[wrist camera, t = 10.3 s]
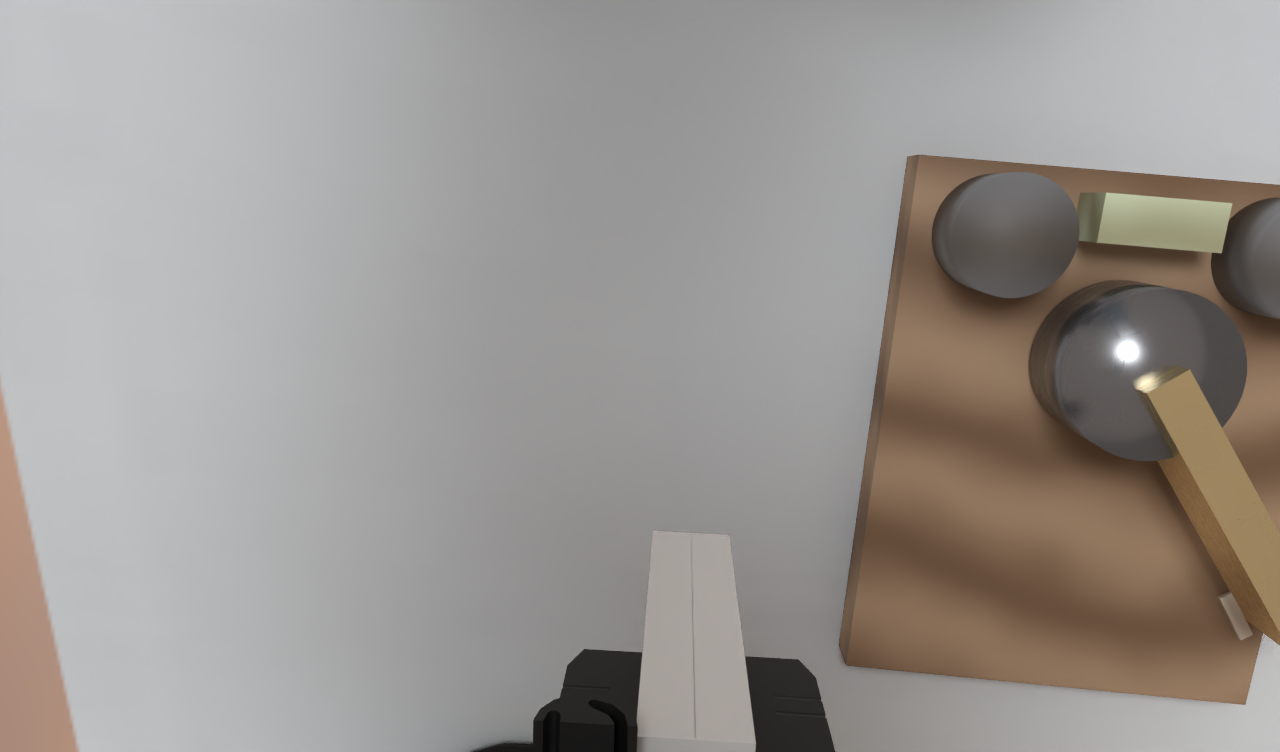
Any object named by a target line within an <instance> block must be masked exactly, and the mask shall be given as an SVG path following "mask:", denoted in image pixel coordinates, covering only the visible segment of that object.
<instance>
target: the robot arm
mask: <svg viewBox="0 0 1280 752" xmlns="http://www.w3.org/2000/svg"><path fill="white" fill-rule="evenodd" d="M533 752H835V749H834V745H833V742H832V738H831V734H830V730H829V726H828V723H827V719H826V718H825V711H824V707H823V704H822V702H821V696H820V692H819V688H818V684H817V681H816V678H815V676H814V675H813V674H812V673H811V672H810V671H809V670H808V669H807V668H806V667H805V666H804V665H803V664H802V663H801V662H800V661H799V660H797V659H780V658H763V657H746V656H745V654H744V646H743V638H742V630H741V622H740V614H739V607H738V599H737V591H736V583H735V575H734V567H733V559H732V552H731V544H730V536H729V535H725V534H707V533H688V532H670V531H653V534H652V546H651V558H650V569H649V581H648V593H647V605H646V616H645V628H644V640H643V651H642V653H640V652H623V651H606V650H589V649H584V650H583V651H582V652H581V653H580V654H579V655H578V656H577V657H576V658H575V659H574V660H573V661H571V662H570V663H569V664H568V666H567V670H566V674H565V679H564V683H563V688H562V691H561V696H560V698H559V699H555V700H553V701H552V702H550V703H549V704H547V705H546V706H544V707H543V708H541V709H540V711H539V712H538V714H537V715H536V717H535V719H534V723H533Z"/></svg>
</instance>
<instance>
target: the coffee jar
mask: <svg viewBox="0 0 1280 752" xmlns="http://www.w3.org/2000/svg"><path fill="white" fill-rule="evenodd" d="M473 752H533V744H500V745H496V746H492V747H488V748H485V749H481V750H477V751H473Z"/></svg>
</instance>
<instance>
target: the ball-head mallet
mask: <svg viewBox="0 0 1280 752" xmlns="http://www.w3.org/2000/svg"><path fill="white" fill-rule="evenodd" d="M1030 374H1031V380H1032V384H1033V388H1034V391H1035V393H1036V395H1037V397H1038V399H1039V401H1040V403H1041V404H1042V406H1043V407H1044V409H1045V410H1046V411H1047V412H1048V413H1049V414H1050V415H1051V416H1052V417H1053V418H1054V419H1055V420H1057V421H1058V422H1059V423H1061V424H1062V425H1064V426H1066V427H1067V428H1069V429H1071V430H1072V431H1074V432H1076V433H1077V434H1079V435H1080V436H1082V437H1084V438H1085V439H1087V440H1089V441H1090V442H1092V443H1094V444H1095V445H1097V446H1099V447H1100V448H1102V449H1104V450H1105V451H1107V452H1109V453H1111V454H1114V455H1116V456H1119V457H1122V458H1126V459H1130V460H1137V461H1158V463H1159V465H1160V467H1161V469H1162V470H1163V472H1164V474H1165V476H1166V477H1167V479H1168V481H1169V483H1170V485H1171V486H1172V488H1173V490H1174V492H1175V494H1176V495H1177V497H1178V499H1179V501H1180V502H1181V504H1182V506H1183V508H1184V510H1185V511H1186V513H1187V515H1188V517H1189V518H1190V520H1191V522H1192V524H1193V526H1194V527H1195V529H1196V531H1197V533H1198V534H1199V536H1200V538H1201V540H1202V542H1203V543H1204V545H1205V547H1206V549H1207V551H1208V552H1209V554H1210V556H1211V558H1212V559H1213V561H1214V563H1215V565H1216V567H1217V568H1218V570H1219V572H1220V574H1221V575H1222V577H1223V579H1224V581H1225V583H1226V584H1227V586H1228V588H1229V590H1230V592H1231V593H1232V595H1233V597H1234V599H1235V600H1236V602H1237V604H1238V606H1239V608H1240V609H1241V611H1242V613H1243V615H1244V616H1245V618H1246V620H1247V621H1248V622H1249V623H1251V624H1252V625H1253V626H1255V627H1256V628H1257V629H1259V630H1260V631H1261V632H1263V633H1264V634H1265V635H1267V636H1268V637H1269V638H1271V639H1272V640H1273V641H1275V642H1276V643H1277V644H1279V645H1280V534H1279V532H1278V530H1277V528H1276V527H1275V525H1274V523H1273V521H1272V519H1271V517H1270V516H1269V514H1268V512H1267V510H1266V508H1265V506H1264V505H1263V503H1262V501H1261V499H1260V497H1259V495H1258V493H1257V492H1256V490H1255V488H1254V486H1253V484H1252V482H1251V481H1250V479H1249V477H1248V475H1247V473H1246V471H1245V470H1244V468H1243V466H1242V464H1241V462H1240V460H1239V459H1238V457H1237V455H1236V453H1235V451H1234V449H1233V448H1232V446H1231V444H1230V442H1229V440H1228V438H1227V437H1226V435H1225V433H1224V431H1223V429H1222V428H1223V427H1224V425H1225V424H1226V423H1227V421H1228V420H1229V419H1230V418H1231V416H1232V415H1233V413H1234V411H1235V410H1236V408H1237V406H1238V404H1239V402H1240V399H1241V397H1242V394H1243V391H1244V388H1245V384H1246V377H1247V355H1246V349H1245V345H1244V342H1243V339H1242V337H1241V334H1240V332H1239V330H1238V328H1237V327H1236V325H1235V324H1234V322H1233V321H1232V319H1231V318H1230V317H1229V316H1228V315H1227V314H1226V312H1224V311H1223V310H1222V309H1221V308H1220V307H1219V306H1217V305H1216V304H1214V303H1213V302H1211V301H1210V300H1208V299H1206V298H1204V297H1202V296H1200V295H1197V294H1194V293H1191V292H1187V291H1183V290H1178V289H1173V288H1168V287H1162V286H1157V285H1152V284H1147V283H1142V282H1137V281H1130V280H1109V281H1102V282H1098V283H1094V284H1091V285H1088V286H1086V287H1083V288H1081V289H1079V290H1077V291H1075V292H1074V293H1072V294H1071V295H1069V296H1068V297H1066V298H1065V299H1063V300H1062V301H1061V302H1060V303H1059V304H1058V305H1056V306H1055V308H1054V309H1053V310H1052V311H1051V312H1050V313H1049V314H1048V316H1047V317H1046V318H1045V320H1044V321H1043V323H1042V324H1041V326H1040V328H1039V330H1038V332H1037V334H1036V337H1035V339H1034V342H1033V346H1032V350H1031V357H1030Z"/></svg>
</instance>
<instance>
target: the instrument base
mask: <svg viewBox="0 0 1280 752" xmlns="http://www.w3.org/2000/svg"><path fill="white" fill-rule="evenodd" d="M1109 280H1130V281H1137V282H1142V283H1147V284H1152V285H1157V286H1162V287H1168V288H1173V289H1178V290H1183V291H1187V292H1191V293H1194V294H1197V295H1200V296H1202V297H1204V298H1206V299H1208V300H1210V301H1211V302H1213V303H1214V304H1216V305H1217V306H1219V307H1220V308H1221V309H1222V310H1223V311H1224V312H1226V314H1227V315H1228V316H1229V317H1230V318H1231V319H1232V321H1233V322H1234V324H1235V325H1236V327H1237V328H1238V330H1239V332H1240V334H1241V337H1242V339H1243V342H1244V345H1245V349H1246V355H1247V377H1246V384H1245V388H1244V391H1243V394H1242V397H1241V399H1240V402H1239V404H1238V406H1237V408H1236V410H1235V411H1234V413H1233V415H1232V416H1231V418H1230V419H1229V420H1228V421H1227V423H1226V424H1225V425H1224V427H1223V428H1222V429H1223V431H1224V433H1225V435H1226V437H1227V438H1228V440H1229V442H1230V444H1231V446H1232V448H1233V449H1234V451H1235V453H1236V455H1237V457H1238V459H1239V460H1240V462H1241V464H1242V466H1243V468H1244V470H1245V471H1246V473H1247V475H1248V477H1249V479H1250V481H1251V482H1252V484H1253V486H1254V488H1255V490H1256V492H1257V493H1258V495H1259V497H1260V499H1261V501H1262V503H1263V505H1264V506H1265V508H1266V510H1267V512H1268V514H1269V516H1270V517H1271V519H1272V521H1273V523H1274V525H1275V527H1276V528H1277V530H1278V532H1279V534H1280V185H1274V184H1262V183H1250V182H1238V181H1226V180H1214V179H1202V178H1190V177H1178V176H1166V175H1154V174H1142V173H1130V172H1118V171H1106V170H1094V169H1083V168H1071V167H1059V166H1047V165H1035V164H1023V163H1011V162H999V161H987V160H975V159H963V158H951V157H939V156H927V155H915V156H909V157H907V164H906V171H905V179H904V186H903V193H902V200H901V207H900V214H899V221H898V228H897V235H896V243H895V250H894V257H893V264H892V271H891V278H890V285H889V292H888V299H887V306H886V314H885V321H884V328H883V335H882V342H881V349H880V356H879V363H878V370H877V378H876V385H875V392H874V399H873V406H872V413H871V420H870V427H869V434H868V441H867V449H866V456H865V463H864V470H863V477H862V484H861V491H860V498H859V505H858V513H857V520H856V527H855V534H854V541H853V548H852V555H851V562H850V569H849V576H848V584H847V591H846V598H845V605H844V612H843V619H842V626H841V633H840V640H839V647H840V650H841V652H842V655H843V658H844V661H845V664H846V665H847V666H857V667H867V668H877V669H887V670H898V671H908V672H918V673H928V674H938V675H948V676H958V677H969V678H979V679H989V680H999V681H1009V682H1019V683H1030V684H1040V685H1050V686H1060V687H1070V688H1080V689H1090V690H1101V691H1111V692H1121V693H1131V694H1141V695H1151V696H1161V697H1172V698H1182V699H1192V700H1202V701H1212V702H1222V703H1233V704H1243V705H1245V704H1246V700H1247V696H1248V691H1249V687H1250V683H1251V679H1252V675H1253V671H1254V667H1255V663H1256V659H1257V655H1258V651H1259V647H1260V643H1261V639H1262V635H1263V632H1261V631H1260V630H1259V629H1257V628H1256V627H1255V626H1253V625H1252V624H1251V623H1249V622H1248V621H1247V620H1246V618H1245V616H1244V615H1243V613H1242V611H1241V609H1240V608H1239V606H1238V604H1237V602H1236V600H1235V599H1234V597H1233V595H1232V593H1231V592H1230V590H1229V588H1228V586H1227V584H1226V583H1225V581H1224V579H1223V577H1222V575H1221V574H1220V572H1219V570H1218V568H1217V567H1216V565H1215V563H1214V561H1213V559H1212V558H1211V556H1210V554H1209V552H1208V551H1207V549H1206V547H1205V545H1204V543H1203V542H1202V540H1201V538H1200V536H1199V534H1198V533H1197V531H1196V529H1195V527H1194V526H1193V524H1192V522H1191V520H1190V518H1189V517H1188V515H1187V513H1186V511H1185V510H1184V508H1183V506H1182V504H1181V502H1180V501H1179V499H1178V497H1177V495H1176V494H1175V492H1174V490H1173V488H1172V486H1171V485H1170V483H1169V481H1168V479H1167V477H1166V476H1165V474H1164V472H1163V470H1162V469H1161V467H1160V465H1159V463H1158V461H1137V460H1130V459H1126V458H1122V457H1119V456H1116V455H1114V454H1111V453H1109V452H1107V451H1105V450H1104V449H1102V448H1100V447H1099V446H1097V445H1095V444H1094V443H1092V442H1090V441H1089V440H1087V439H1085V438H1084V437H1082V436H1080V435H1079V434H1077V433H1076V432H1074V431H1072V430H1071V429H1069V428H1067V427H1066V426H1064V425H1062V424H1061V423H1059V422H1058V421H1057V420H1055V419H1054V418H1053V417H1052V416H1051V415H1050V414H1049V413H1048V412H1047V411H1046V410H1045V409H1044V407H1043V406H1042V404H1041V403H1040V401H1039V399H1038V397H1037V395H1036V393H1035V391H1034V388H1033V384H1032V380H1031V374H1030V357H1031V350H1032V346H1033V342H1034V339H1035V337H1036V334H1037V332H1038V330H1039V328H1040V326H1041V324H1042V323H1043V321H1044V320H1045V318H1046V317H1047V316H1048V314H1049V313H1050V312H1051V311H1052V310H1053V309H1054V308H1055V306H1056V305H1058V304H1059V303H1060V302H1061V301H1062V300H1063V299H1065V298H1066V297H1068V296H1069V295H1071V294H1072V293H1074V292H1075V291H1077V290H1079V289H1081V288H1083V287H1086V286H1088V285H1091V284H1094V283H1098V282H1102V281H1109Z"/></svg>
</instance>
